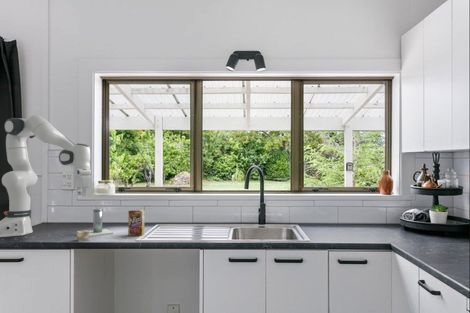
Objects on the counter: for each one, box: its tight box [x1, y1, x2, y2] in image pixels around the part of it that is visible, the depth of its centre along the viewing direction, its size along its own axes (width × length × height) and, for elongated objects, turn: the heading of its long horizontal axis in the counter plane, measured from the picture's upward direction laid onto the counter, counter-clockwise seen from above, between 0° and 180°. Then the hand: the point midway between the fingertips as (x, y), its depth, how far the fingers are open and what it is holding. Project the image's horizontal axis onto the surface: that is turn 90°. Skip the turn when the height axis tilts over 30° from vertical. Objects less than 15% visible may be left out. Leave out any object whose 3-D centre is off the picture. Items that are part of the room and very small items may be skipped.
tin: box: [92, 208, 104, 233], centre depth 205 cm, size 5×5×14 cm
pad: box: [88, 228, 114, 238], centre depth 205 cm, size 14×14×1 cm
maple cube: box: [76, 229, 90, 242], centre depth 188 cm, size 5×5×5 cm
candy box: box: [127, 209, 146, 237], centre depth 201 cm, size 9×4×15 cm, turn 84°
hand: (81, 195), depth 192 cm, fingers open, 8 cm apart
